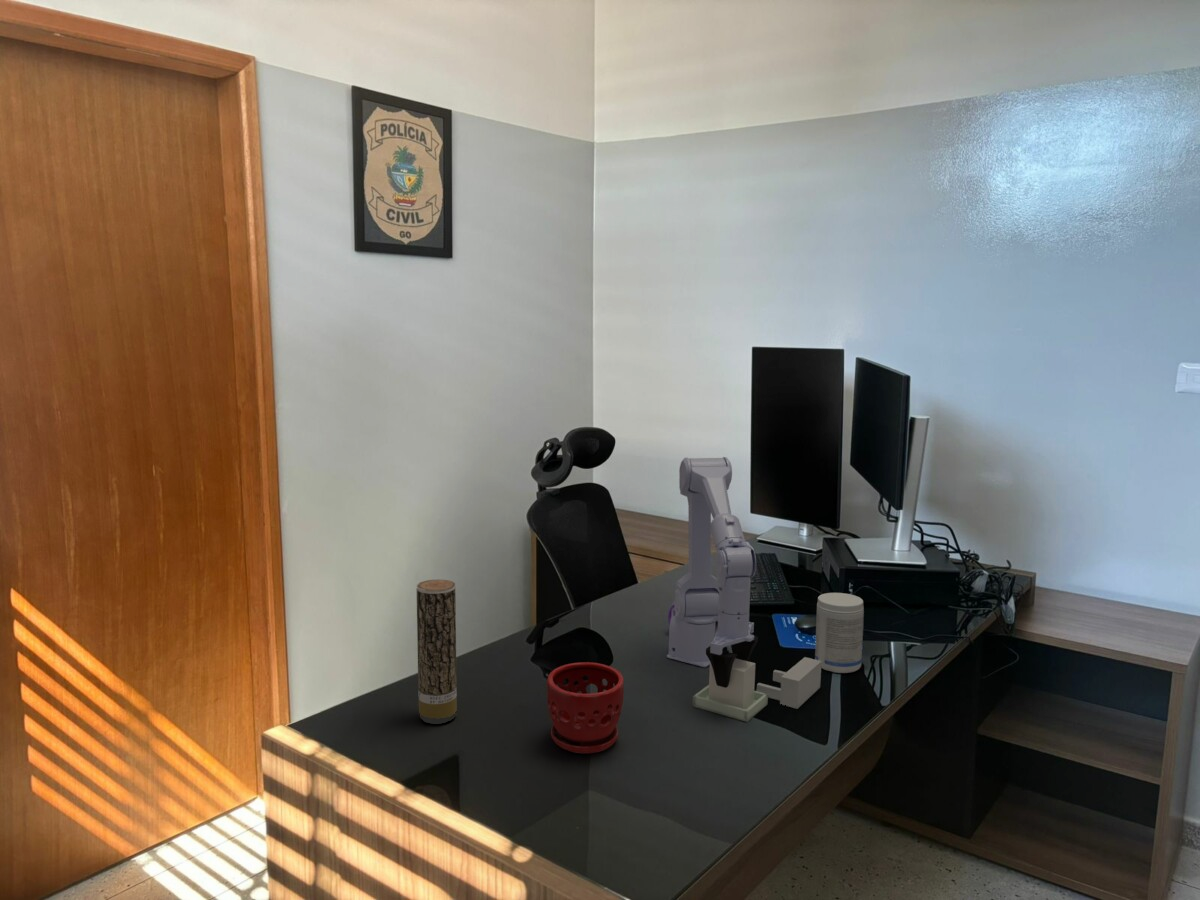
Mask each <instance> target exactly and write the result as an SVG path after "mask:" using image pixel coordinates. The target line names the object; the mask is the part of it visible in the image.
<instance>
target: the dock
mask: <svg viewBox="0 0 1200 900" xmlns="http://www.w3.org/2000/svg"><path fill="white" fill-rule="evenodd" d="M821 662H822V661H819V660H815V658H814V659H813V658H812V657H806V656H804V657H803V658H802V659H801V660H799V661H798V662H797V663H796V664H795V665H793V666H792V667H791V668H790V669H789V670H787V671H782V670H777V669H774V670H773V672H772V681H773V682H777V683H780V687H777V686H773V685H769V684H765V683H761V682H758V683H757V684H756V691H758V692H761V693H765V694H768V699H773V700H777V701H779V705H781V704H782V705H781V706H785V705H786V707H790V708H793V709H797V710H798V709H799V708H800V707H801V706H802V705H803V704H804V703H805V702H806V701H808V699H810V697H812V696H813V695H814V694H815V693H816V692H817V691H819V689H820V688H821V677H822V675H821V674H822V668H821Z"/></svg>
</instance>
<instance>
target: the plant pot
mask: <svg viewBox="0 0 1200 900" xmlns="http://www.w3.org/2000/svg"><path fill="white" fill-rule="evenodd" d="M584 677H587V680H584V679H583V678H584ZM566 679H567V680H568V683H567V684H564V681H565V680H566ZM603 680H606V682H607V683H606V685H605V684H604V682H603ZM575 682H578V684H576V685H575V684H574V683H575ZM624 682H625V679H624V677H623V675H622V673H621V672H620V671H618V670H617V669H616V668H614V667H612V666H609V665H606V664H603V663H598V662H589V661H587V662H585V661H584V662H574V663H573V662H572V663H568V664H564V665H560V666H559V667H556V668H554V669H553V670H552V671H551V672H550V673H549V674H548V676H547V681H546V685H547V686H546V696H547V697H546V699H547V700H546V701H547V706H548V707H547V708H548V712H549V717H550V719H551V722H552V724H553V725H552V727H551V729H550V735H551V739H552V740H553V742H554V743H555V744H556V745H557V746H559V747H560V748H562V749H563V750H565V751H567V750H568V752H571V753H574V754H575V753H577V754H595V753H599V752H603V751H605V750H607V749H608V748H611V747H612V746H613V745H614V743H615V742H616V741H617V740H618V737H619V729H618V727H617V725H618V723H619V721H620V720H619V719H620V716H621V713H622V709H623V703H624V693H625V691H624V690H625V687H624V686H625V683H624ZM588 685H595V686H596V688H597V692H593V693H588V692H587V687H588ZM568 690H569V691H568ZM579 692H581V693H579Z"/></svg>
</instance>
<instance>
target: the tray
mask: <svg viewBox="0 0 1200 900" xmlns="http://www.w3.org/2000/svg"><path fill="white" fill-rule="evenodd" d="M768 700H769V698H768V694H765V693H761V692H758V691H757V690H754V703H753V704H752V705H751V706H750V707H749V708H747V709H746V710H745V709H742V708H738V707H735V706H731V705H728V704H724V703H720V702H717V701H713V700H710V699H709V684H707V686H705V687H704V688H702V689H701V690H700V691H698V692H697V693H696V694H694V695H692V707H694V708H697V709H700V710H704V711H707V712H710V713H715V714H718V715H721V716H725V717H728V718H732V719H735V720H739V721H743V722H746V723H748V722H749V721H750V720H752V719H753V718H754V717H755V716H756V715H757V714H759V712H761V711H762V710H763V709H765V707H766V706H768V703H769V701H768Z"/></svg>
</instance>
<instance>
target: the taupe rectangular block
mask: <svg viewBox="0 0 1200 900" xmlns="http://www.w3.org/2000/svg"><path fill="white" fill-rule="evenodd" d="M708 672H709V677H708V678H709V679H708V685H709V699H710V700H713V701H717V702H720V703H724V704H728V705H731V706H735V707H738V708H742V709H745V710H746V709H747V708H749V707H750V706H751V705H752V704H753V703H754V691H755V682H756V681H755V680H756V663H755V662H751V661H749V662H748V661H744V660H740V659H736V658H735V660H734V662H733V665H732V669H731V675H730V681H729V685H728V687H727V688H725V687H721V686H717V684H716V680H715V676H714V671H713V668H712V665H711V663H710V665H709V670H708Z"/></svg>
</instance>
